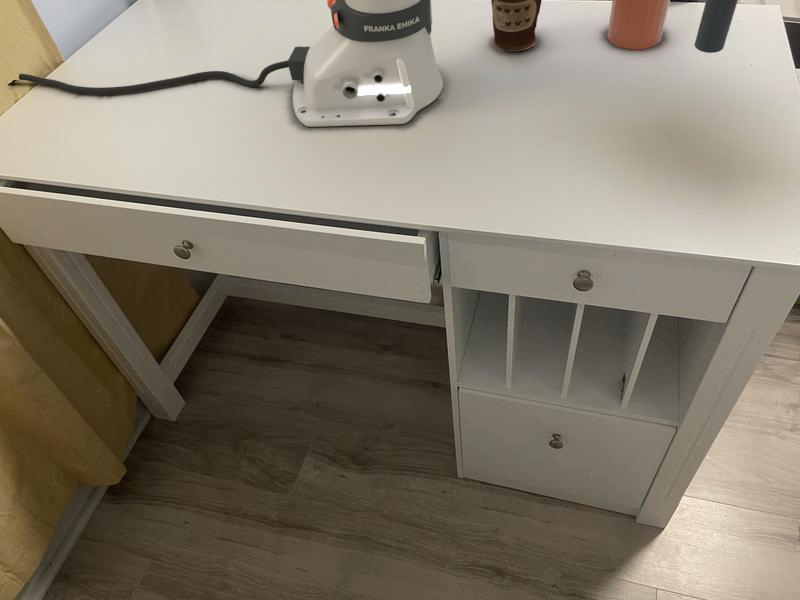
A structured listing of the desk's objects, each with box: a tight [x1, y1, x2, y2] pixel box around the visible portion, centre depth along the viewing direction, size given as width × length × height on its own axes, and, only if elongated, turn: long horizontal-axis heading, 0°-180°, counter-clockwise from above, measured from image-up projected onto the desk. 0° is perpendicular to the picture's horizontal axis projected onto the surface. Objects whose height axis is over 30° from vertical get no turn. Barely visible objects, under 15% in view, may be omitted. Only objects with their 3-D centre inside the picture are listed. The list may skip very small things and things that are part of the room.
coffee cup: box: [490, 0, 542, 52], centre depth 100 cm, size 9×8×13 cm
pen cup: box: [607, 0, 671, 50], centre depth 99 cm, size 8×8×10 cm
